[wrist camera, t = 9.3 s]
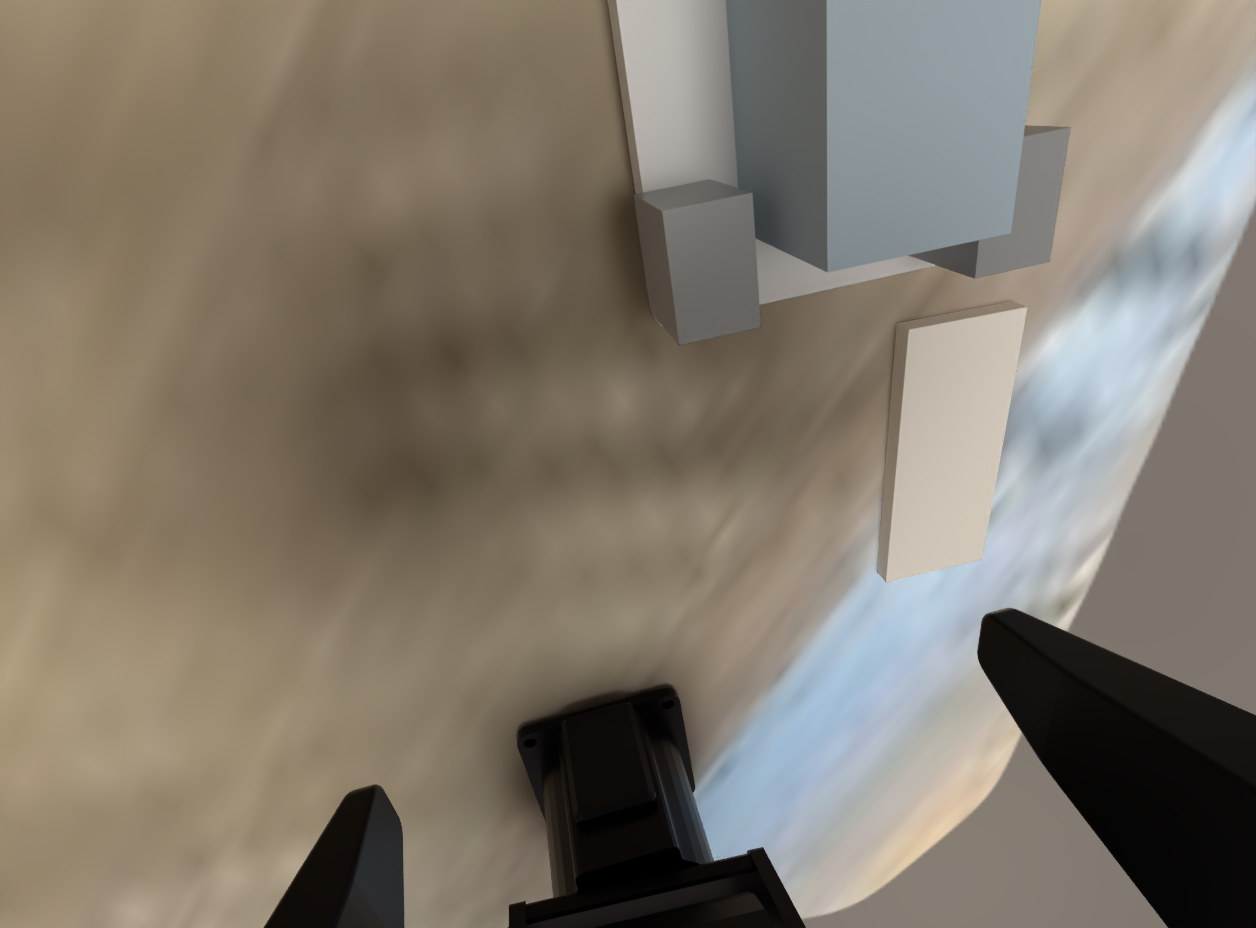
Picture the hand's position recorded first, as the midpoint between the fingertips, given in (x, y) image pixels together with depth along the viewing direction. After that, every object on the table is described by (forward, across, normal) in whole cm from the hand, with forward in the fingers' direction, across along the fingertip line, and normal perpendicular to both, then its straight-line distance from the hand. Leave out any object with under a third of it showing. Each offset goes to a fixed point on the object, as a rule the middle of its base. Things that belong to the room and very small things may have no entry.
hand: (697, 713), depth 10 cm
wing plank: (+13, -12, +5) cm, 18 cm away
